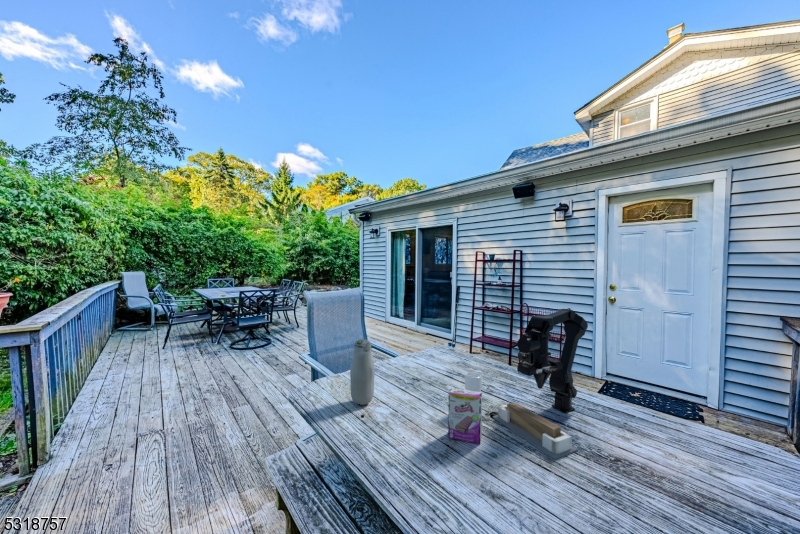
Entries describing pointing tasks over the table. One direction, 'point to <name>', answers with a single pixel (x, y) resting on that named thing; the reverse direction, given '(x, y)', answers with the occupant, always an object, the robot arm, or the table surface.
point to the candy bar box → (465, 415)
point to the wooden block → (532, 422)
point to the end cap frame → (547, 444)
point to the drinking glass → (473, 381)
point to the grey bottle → (362, 373)
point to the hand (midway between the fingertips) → (539, 388)
